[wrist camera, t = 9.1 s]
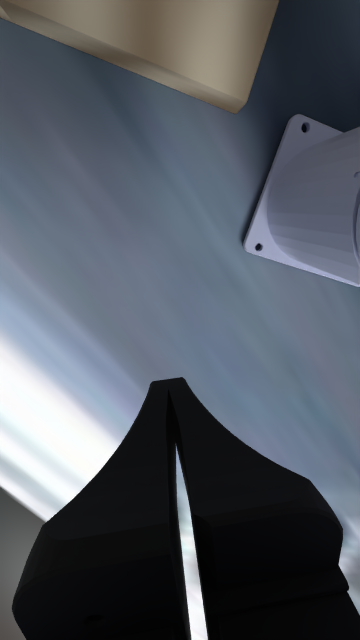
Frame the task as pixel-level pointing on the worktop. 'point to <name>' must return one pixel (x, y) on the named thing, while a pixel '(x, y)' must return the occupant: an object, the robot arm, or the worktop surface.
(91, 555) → the robot arm
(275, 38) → the worktop surface
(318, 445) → the worktop surface
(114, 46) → the trap deck
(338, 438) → the worktop surface
